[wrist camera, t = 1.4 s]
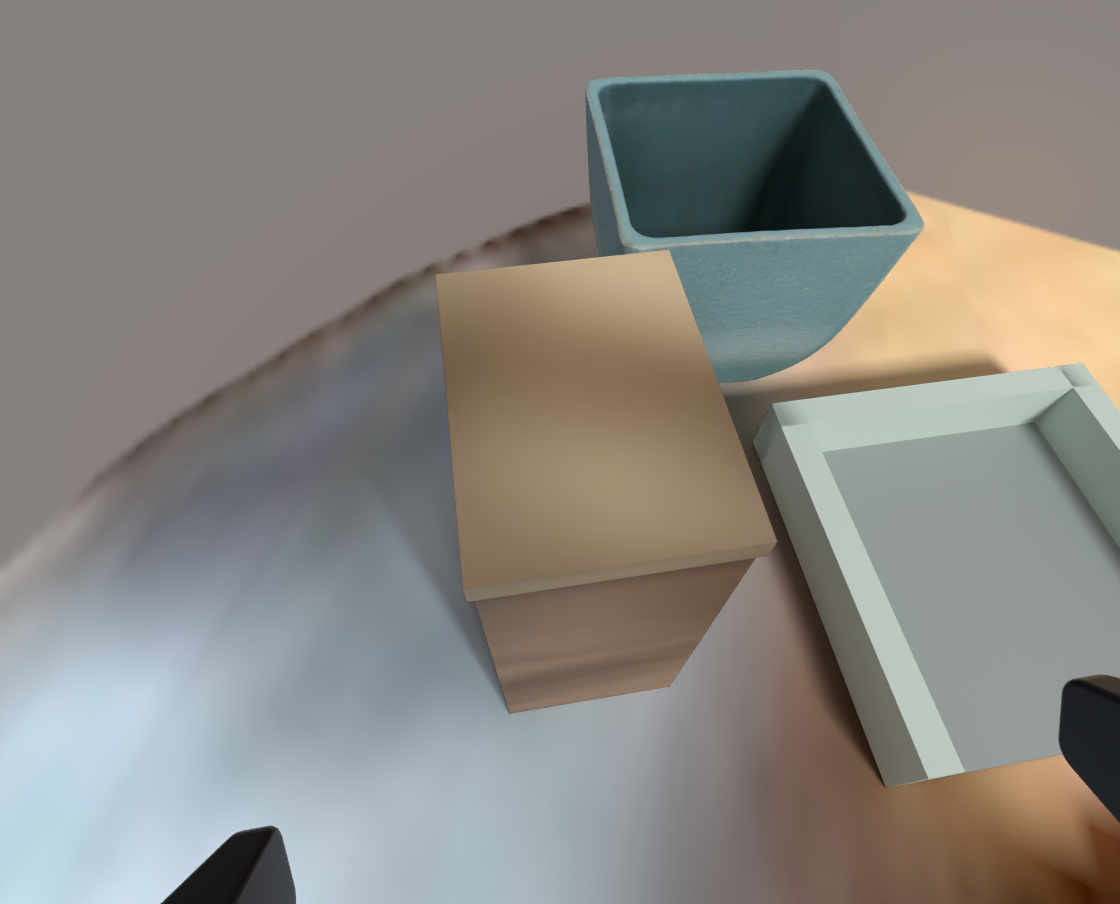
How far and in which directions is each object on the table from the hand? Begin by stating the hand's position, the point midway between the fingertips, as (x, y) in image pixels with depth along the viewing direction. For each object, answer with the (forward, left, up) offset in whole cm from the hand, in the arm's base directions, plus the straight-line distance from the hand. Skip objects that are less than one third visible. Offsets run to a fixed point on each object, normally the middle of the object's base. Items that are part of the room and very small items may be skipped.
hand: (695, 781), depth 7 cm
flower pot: (+8, -17, -13) cm, 23 cm away
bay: (-5, -14, -13) cm, 20 cm away
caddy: (+5, -5, -13) cm, 15 cm away
